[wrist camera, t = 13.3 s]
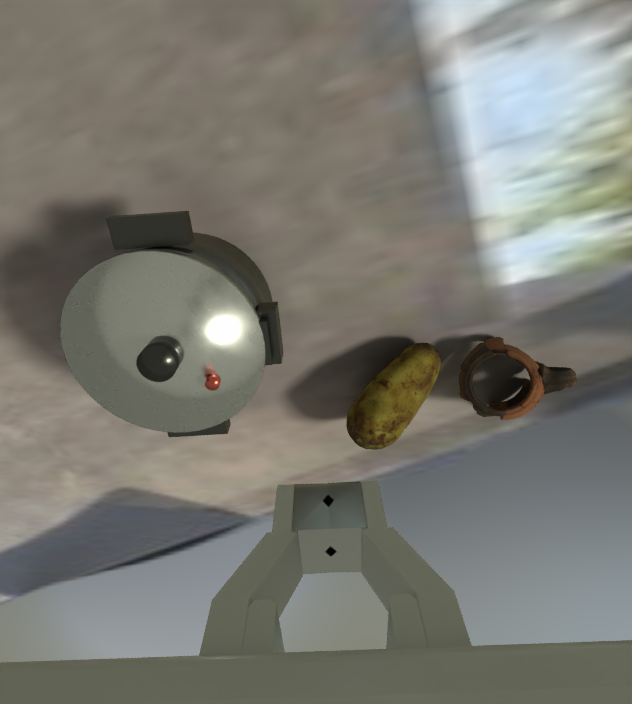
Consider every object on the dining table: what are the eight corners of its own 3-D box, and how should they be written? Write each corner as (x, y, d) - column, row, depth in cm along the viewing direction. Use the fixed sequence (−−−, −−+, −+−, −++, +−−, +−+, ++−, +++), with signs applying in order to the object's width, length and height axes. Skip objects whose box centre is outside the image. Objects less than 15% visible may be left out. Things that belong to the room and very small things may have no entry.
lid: (35, 257, 29) (5, 267, 26) (257, 241, 29) (253, 249, 26) (102, 432, 36) (84, 456, 33) (280, 418, 37) (278, 441, 34)
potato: (451, 381, 47) (477, 420, 40) (358, 426, 50) (366, 470, 42) (423, 327, 44) (446, 359, 36) (326, 378, 46) (329, 417, 39)
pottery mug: (466, 415, 50) (466, 432, 42) (450, 344, 50) (447, 348, 42) (573, 401, 45) (595, 416, 38) (556, 323, 45) (574, 322, 38)
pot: (98, 211, 38) (34, 224, 29) (274, 198, 37) (263, 208, 29) (152, 394, 47) (115, 446, 38) (293, 385, 47) (289, 436, 38)
